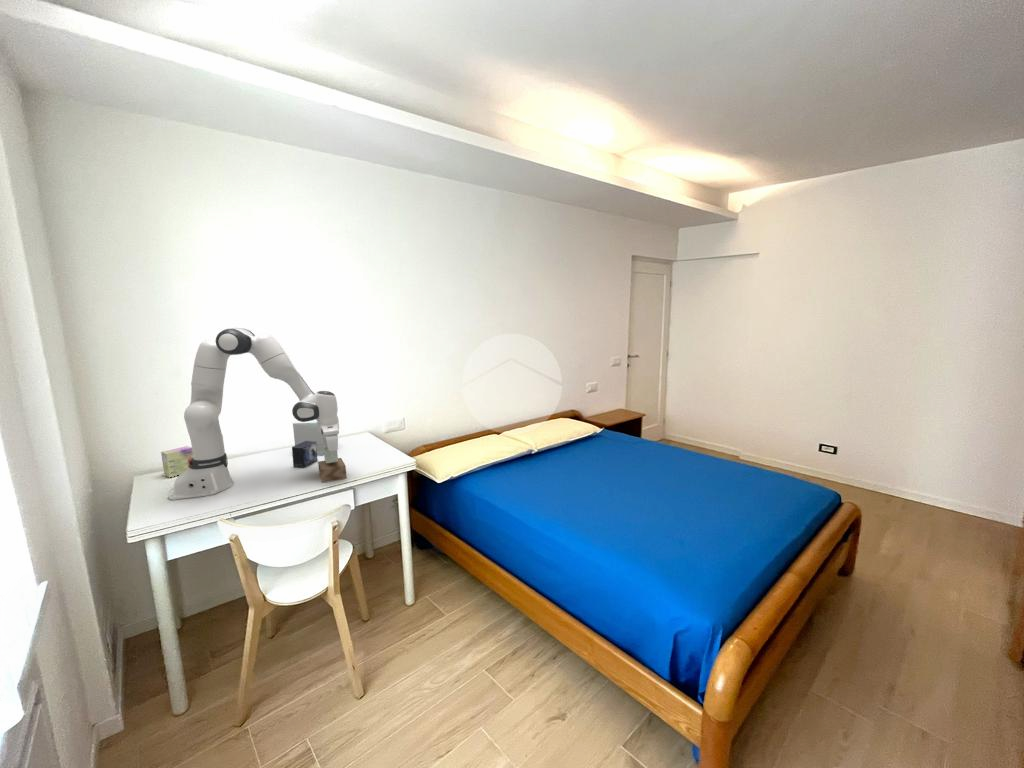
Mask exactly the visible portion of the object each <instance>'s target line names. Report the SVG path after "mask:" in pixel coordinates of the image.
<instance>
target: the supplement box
mask: <svg viewBox="0 0 1024 768" xmlns="http://www.w3.org/2000/svg"><path fill="white" fill-rule="evenodd" d="M292 427H293V438H294V439H293V440H294V446H295V445H298V444H300V443H302V442H304V441H312V442H316V446H317V456H324V448H325V447H326V446H325V444H324V442H323V436H322V435H321V433H320V432H318V426H317V420H316V419H315V420H311V421H307V422H301V421H298V420H296V421H295V422H292Z"/></svg>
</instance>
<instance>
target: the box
mask: <svg viewBox="0 0 1024 768" xmlns="http://www.w3.org/2000/svg"><path fill="white" fill-rule="evenodd" d="M160 454H161V455H160V456H161V461H162V468H163V475H164V477H166V476H167V477H166V478H168V477H169V479H171V478H170V477H172V478H175V477H178V476H177V475H179V476H180V475H181V474H182V473H183V472H184V471H186V470H187V469H188V468H189V467H188V459H189V458H190V457H193V452H192V446H189V445H185V446H182V447H176V448H172V449H169V450H168V449H167V450H164V451H163V450H162V451H161V452H160ZM174 476H175V477H174Z"/></svg>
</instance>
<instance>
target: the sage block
mask: <svg viewBox="0 0 1024 768" xmlns="http://www.w3.org/2000/svg"><path fill="white" fill-rule="evenodd" d="M323 456H324V461H325V462H326V463H332V462H338V458H339V456H338V450H337V451H336V452H334V458H333V459H330V457H329V451H328V450H327V448H326V447H325V448H324V455H323Z"/></svg>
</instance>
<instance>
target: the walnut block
mask: <svg viewBox="0 0 1024 768" xmlns="http://www.w3.org/2000/svg"><path fill="white" fill-rule="evenodd" d="M317 464H318V465H317V466H318V473H319V477H320V480H321V482H322V483H323V482H324V483H327V482H328V481H329V482H333V481H338V480H339V481H340V480H344V479H347V467H346V464H345V462H344V460H343V459H342V458H341V457H338V462H332V463H326V462H325V460H320V461H317ZM329 482H328V483H329Z"/></svg>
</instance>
